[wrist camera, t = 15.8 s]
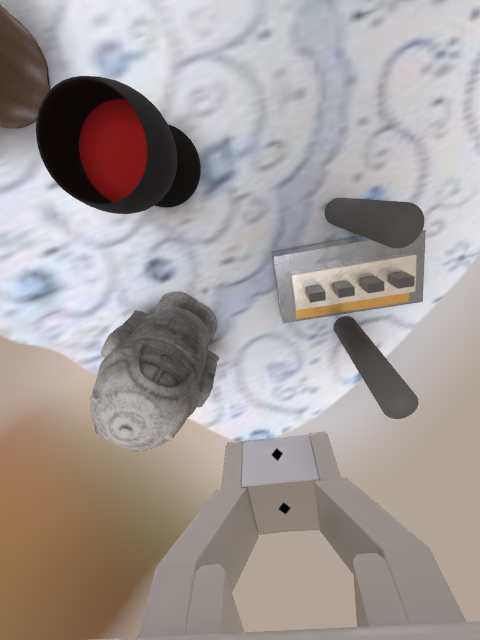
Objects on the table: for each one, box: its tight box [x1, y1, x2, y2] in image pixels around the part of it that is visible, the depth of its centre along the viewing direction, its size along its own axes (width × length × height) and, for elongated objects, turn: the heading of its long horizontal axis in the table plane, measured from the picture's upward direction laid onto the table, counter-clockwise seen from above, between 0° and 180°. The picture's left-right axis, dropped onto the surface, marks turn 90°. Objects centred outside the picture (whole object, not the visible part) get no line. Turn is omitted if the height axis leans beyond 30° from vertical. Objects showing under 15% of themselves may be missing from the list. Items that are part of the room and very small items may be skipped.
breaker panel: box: [272, 230, 425, 323], centre depth 44 cm, size 10×20×6 cm, turn 100°
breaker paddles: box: [306, 272, 415, 303], centre depth 39 cm, size 1×13×3 cm, turn 101°
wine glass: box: [36, 76, 200, 214], centre depth 33 cm, size 10×10×20 cm
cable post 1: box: [325, 198, 424, 248], centre depth 34 cm, size 4×4×20 cm
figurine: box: [90, 292, 219, 451], centre depth 39 cm, size 10×14×25 cm
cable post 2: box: [334, 316, 418, 419], centre depth 40 cm, size 4×4×20 cm
